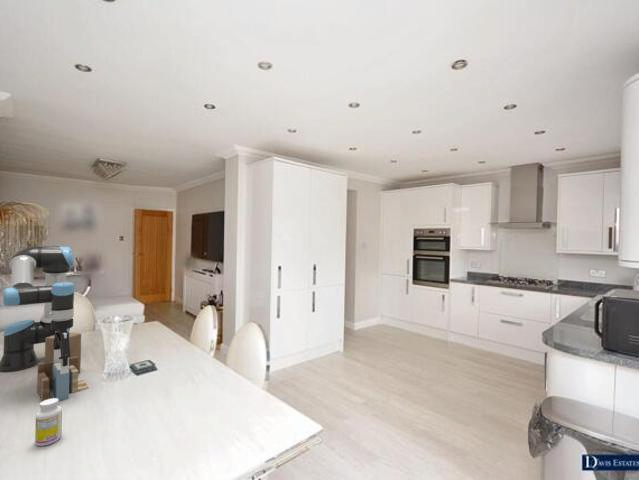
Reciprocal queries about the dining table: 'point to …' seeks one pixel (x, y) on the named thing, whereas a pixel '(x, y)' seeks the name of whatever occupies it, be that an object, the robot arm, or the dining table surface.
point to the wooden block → (74, 348)
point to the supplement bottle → (48, 422)
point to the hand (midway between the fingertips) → (60, 368)
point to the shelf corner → (49, 377)
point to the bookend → (75, 381)
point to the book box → (60, 383)
